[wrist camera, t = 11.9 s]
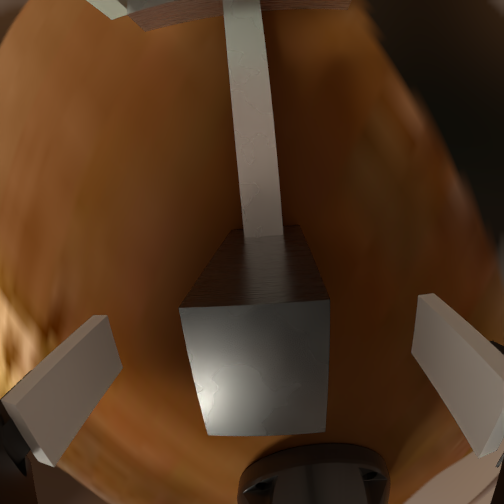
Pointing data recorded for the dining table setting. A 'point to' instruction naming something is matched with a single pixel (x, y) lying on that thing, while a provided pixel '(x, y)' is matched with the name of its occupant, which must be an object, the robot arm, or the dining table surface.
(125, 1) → the cabinet
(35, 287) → the dining table surface
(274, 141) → the scraper
